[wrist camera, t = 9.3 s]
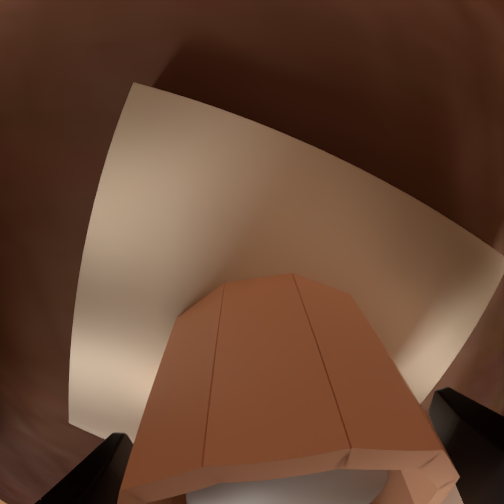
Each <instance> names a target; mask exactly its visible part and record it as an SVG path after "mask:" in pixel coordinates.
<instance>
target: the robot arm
mask: <svg viewBox="0 0 504 504" xmlns="http://www.w3.org/2000/svg"><path fill="white" fill-rule="evenodd" d="M429 413H430V417H431V420H432V423H433V426H434V429H435V432H436V433H437V435H438V437H439V439H440V441H441V442H442V444H443V446H444V448H445V450H446V452H447V453H448V455H449V457H450V459H451V461H452V463H453V465H454V466H455V468H456V470H457V472H458V474H459V476H460V478H459V479H458V481H457V482H456V486H457V489H458V491H459V493H460V496H461V498H462V501H463V503H464V504H504V416H502V415H500V414H498V413H496V412H494V411H492V410H490V409H488V408H487V407H485V406H483V405H481V404H479V403H477V402H475V401H474V400H472V399H470V398H468V397H466V396H464V395H462V394H461V393H459V392H457V391H455V390H453V389H451V388H449V387H444V388H441V389H438V390H436V391H435V392H434V395H433V399H432V402H431V405H430V409H429ZM132 447H133V443H132V441H131V440H130V438H129V436H128V435H127V434H126V433H121V432H114V433H112V434H110V435H109V436H108V437H107V438H106V439H105V440H104V441H103V442H102V443H101V444H100V445H99V446H98V447H97V448H96V449H95V450H93V451H92V452H91V453H90V454H89V455H88V456H87V457H86V458H85V459H84V460H83V461H82V462H81V463H79V464H78V465H77V466H76V467H75V468H74V469H73V470H72V471H71V472H70V473H69V474H67V475H66V476H65V477H64V478H63V479H62V480H61V481H60V482H59V483H57V484H56V485H55V486H54V487H53V488H52V489H51V490H50V491H49V492H47V493H46V494H45V495H44V496H43V497H42V498H41V500H38V501H37V502H36V503H35V504H117V501H118V496H119V491H120V488H121V484H122V481H123V477H124V474H125V470H126V467H127V464H128V460H129V457H130V454H131V451H132Z"/></svg>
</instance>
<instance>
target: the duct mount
mask: <svg viewBox="0 0 504 504" xmlns="http://www.w3.org/2000/svg"><path fill="white" fill-rule="evenodd" d="M289 273H294V274H296V275H299V276H302V277H304V278H307V279H310V280H313V281H315V282H318V283H321V284H323V285H326V286H329V287H332V288H334V289H337V290H340V291H343V292H345V293H348V294H350V296H351V297H352V299H353V300H354V301H355V303H356V304H357V306H358V307H359V309H360V310H361V311H362V313H363V314H364V316H365V317H366V319H367V320H368V322H369V323H370V325H371V326H372V328H373V329H374V331H375V332H376V333H377V335H378V337H379V338H380V340H381V341H382V343H383V344H384V346H385V348H386V349H387V351H388V352H389V354H390V356H391V357H392V359H393V360H394V362H395V364H396V365H397V367H398V369H399V370H400V372H401V373H402V375H403V377H404V378H405V380H406V382H407V383H408V385H409V387H410V388H411V390H412V392H413V393H414V395H415V397H416V398H417V400H418V402H419V404H421V403H422V401H423V400H424V399H425V398H426V396H427V395H428V394H429V393H430V391H431V390H432V389H433V387H434V386H435V385H436V383H437V382H438V381H439V379H440V378H441V377H442V375H443V374H444V373H445V371H446V370H447V368H448V367H449V366H450V364H451V363H452V361H453V360H454V358H455V357H456V356H457V354H458V353H459V351H460V350H461V348H462V347H463V345H464V343H465V342H466V340H467V339H468V337H469V336H470V334H471V332H472V331H473V329H474V327H475V326H476V324H477V322H478V321H479V319H480V317H481V316H482V314H483V312H484V310H485V309H486V307H487V305H488V303H489V301H490V300H491V298H492V296H493V294H494V292H495V290H496V288H497V286H498V284H499V282H500V280H501V278H502V276H503V274H504V256H503V255H501V254H500V253H499V252H497V251H496V250H494V249H493V248H492V247H490V246H489V245H487V244H486V243H485V242H483V241H482V240H480V239H479V238H477V237H476V236H474V235H473V234H471V233H470V232H468V231H467V230H465V229H464V228H462V227H461V226H459V225H458V224H456V223H454V222H453V221H451V220H450V219H448V218H447V217H445V216H443V215H442V214H440V213H439V212H437V211H435V210H434V209H432V208H430V207H429V206H427V205H425V204H424V203H422V202H420V201H418V200H417V199H415V198H413V197H412V196H410V195H408V194H406V193H405V192H403V191H401V190H399V189H397V188H396V187H394V186H392V185H390V184H388V183H386V182H385V181H383V180H381V179H379V178H377V177H375V176H373V175H371V174H369V173H367V172H366V171H364V170H362V169H360V168H358V167H356V166H354V165H352V164H350V163H348V162H346V161H344V160H341V159H339V158H337V157H335V156H333V155H331V154H329V153H327V152H325V151H322V150H320V149H318V148H316V147H314V146H312V145H309V144H307V143H305V142H303V141H300V140H298V139H296V138H293V137H291V136H289V135H286V134H284V133H282V132H279V131H277V130H274V129H272V128H269V127H267V126H264V125H262V124H259V123H257V122H254V121H252V120H249V119H246V118H244V117H241V116H238V115H236V114H233V113H230V112H227V111H225V110H222V109H219V108H216V107H213V106H210V105H207V104H204V103H201V102H198V101H195V100H192V99H189V98H186V97H183V96H180V95H176V94H173V93H170V92H166V91H163V90H159V89H156V88H152V87H149V86H145V85H141V84H138V83H134V82H133V85H132V87H131V90H130V92H129V95H128V97H127V100H126V102H125V105H124V108H123V110H122V113H121V116H120V119H119V122H118V124H117V127H116V130H115V133H114V136H113V139H112V142H111V145H110V148H109V152H108V155H107V158H106V161H105V165H104V168H103V171H102V175H101V179H100V182H99V186H98V190H97V193H96V197H95V201H94V205H93V209H92V214H91V218H90V222H89V227H88V232H87V236H86V241H85V246H84V251H83V257H82V262H81V268H80V274H79V281H78V287H77V294H76V302H75V310H74V319H73V329H72V340H71V353H70V372H69V423H70V424H72V425H74V426H76V427H79V428H81V429H83V430H85V431H87V432H90V433H92V434H94V435H97V436H99V437H101V438H104V439H106V438H107V437H108V436H109V435H110V434H112V433H114V432H121V433H126V434H127V435H128V436H129V438H130V440H131V441H132V443H133V444H134V441H135V438H136V434H137V431H138V428H139V425H140V422H141V419H142V416H143V413H144V410H145V407H146V403H147V400H148V397H149V394H150V391H151V389H152V386H153V383H154V380H155V377H156V374H157V371H158V368H159V365H160V362H161V359H162V357H163V354H164V351H165V348H166V345H167V342H168V340H169V337H170V334H171V331H172V329H173V326H174V323H175V320H176V318H177V317H179V316H180V315H181V314H183V313H184V312H185V311H187V310H188V309H189V308H191V307H192V306H193V305H195V304H196V303H198V302H199V301H200V300H202V299H203V298H204V297H206V296H207V295H208V294H210V293H211V292H212V291H214V290H215V289H216V288H218V287H219V286H221V285H222V284H223V283H225V282H232V281H239V280H247V279H254V278H261V277H268V276H275V275H282V274H289ZM387 478H388V475H387V470H359V469H335V470H330V471H325V472H319V473H314V474H308V475H302V476H295V477H288V478H280V479H271V480H261V481H249V482H233V483H219V484H216V485H212V486H209V487H206V488H203V489H199V490H196V491H192V492H189V493H186V501H187V504H369V503H370V502H372V501H373V500H374V499H375V498H376V497H377V496H378V495H379V494H380V493H381V491H382V490H383V489H384V487H385V485H386V482H387Z"/></svg>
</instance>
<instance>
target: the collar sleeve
mask: <svg viewBox="0 0 504 504" xmlns="http://www.w3.org/2000/svg"><path fill="white" fill-rule="evenodd" d="M335 469H359V470H387V475H388V478H387V482H386V485H385V487H384V489H383V490H382V491H381V493H380V494H379V495H378V496H377V497H376V498H375V499H374V500H373V501H372V502H370V503H369V504H441V503H442V502H443V501H444V499H445V498H446V496H447V495H448V494H449V492H450V491H451V489H452V488H453V487H454V485H455V484H456V482H457V481H458V479H459V478H460V476H459V474H458V472H457V470H456V468H455V466H454V465H453V463H452V461H451V459H450V457H449V455H448V453H447V452H446V450H445V448H444V446H443V444H442V442H441V441H440V439H439V437H438V435H437V433H436V432H435V430H434V428H433V426H432V424H431V423H430V421H429V419H428V417H427V416H426V414H425V412H424V410H423V409H422V407H421V405H420V404H419V402H418V400H417V398H416V397H415V395H414V393H413V392H412V390H411V388H410V387H409V385H408V383H407V382H406V380H405V378H404V377H403V375H402V373H401V372H400V370H399V369H398V367H397V365H396V364H395V362H394V360H393V359H392V357H391V356H390V354H389V352H388V351H387V349H386V348H385V346H384V344H383V343H382V341H381V340H380V338H379V337H378V335H377V333H376V332H375V331H374V329H373V328H372V326H371V325H370V323H369V322H368V320H367V319H366V317H365V316H364V314H363V313H362V311H361V310H360V309H359V307H358V306H357V304H356V303H355V301H354V300H353V299H352V297H351V296H350V294H348V293H345V292H343V291H340V290H337V289H334V288H332V287H329V286H326V285H323V284H321V283H318V282H315V281H313V280H310V279H307V278H304V277H302V276H299V275H296V274H294V273H289V274H282V275H275V276H268V277H261V278H254V279H247V280H239V281H232V282H225V283H223V284H222V285H221V286H219V287H218V288H216V289H215V290H214V291H212V292H211V293H210V294H208V295H207V296H206V297H204V298H203V299H202V300H200V301H199V302H198V303H196V304H195V305H193V306H192V307H191V308H189V309H188V310H187V311H185V312H184V313H183V314H181V315H180V316H179V317H177V318H176V320H175V323H174V326H173V329H172V331H171V334H170V337H169V340H168V342H167V345H166V348H165V351H164V354H163V357H162V359H161V362H160V365H159V368H158V371H157V374H156V377H155V380H154V383H153V386H152V389H151V391H150V394H149V397H148V400H147V403H146V407H145V410H144V413H143V416H142V419H141V422H140V425H139V428H138V431H137V434H136V438H135V441H134V444H133V447H132V451H131V454H130V457H129V460H128V464H127V467H126V470H125V474H124V477H123V481H122V484H121V488H120V491H119V496H118V501H117V504H187V501H186V493H189V492H192V491H196V490H199V489H203V488H206V487H209V486H212V485H216V484H219V483H233V482H249V481H261V480H271V479H280V478H288V477H295V476H302V475H308V474H314V473H319V472H325V471H330V470H335Z"/></svg>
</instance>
